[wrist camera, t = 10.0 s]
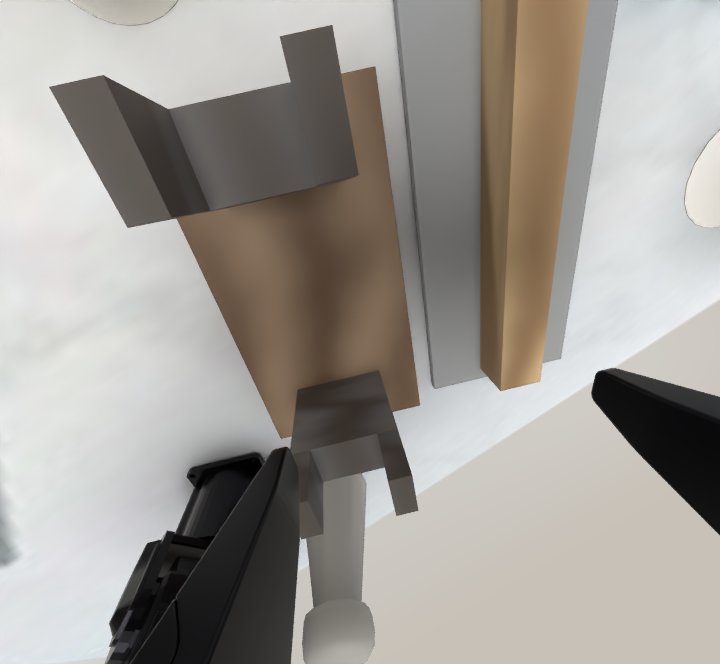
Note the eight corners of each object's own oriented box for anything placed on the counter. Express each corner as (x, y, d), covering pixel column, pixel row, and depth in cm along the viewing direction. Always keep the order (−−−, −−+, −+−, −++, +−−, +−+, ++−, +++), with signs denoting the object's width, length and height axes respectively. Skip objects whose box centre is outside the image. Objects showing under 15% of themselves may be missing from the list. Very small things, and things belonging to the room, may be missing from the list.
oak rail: (480, 368, 23) (500, 391, 21) (480, -13, 13) (521, -65, 10) (515, 359, 23) (540, 381, 21) (542, -27, 13) (598, -81, 11)
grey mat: (432, 384, 24) (434, 388, 24) (391, -16, 13) (394, -25, 13) (555, 355, 24) (560, 358, 24) (618, -66, 13) (630, -76, 13)
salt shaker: (371, 449, 27) (407, 644, 15) (351, 488, 29) (370, 683, 18) (311, 440, 26) (302, 647, 14) (295, 481, 28) (276, 689, 16)
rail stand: (282, 429, 25) (260, 565, 16) (142, 124, 14) (-148, 20, 5) (416, 397, 25) (469, 513, 16) (371, 73, 15) (450, -107, 6)
